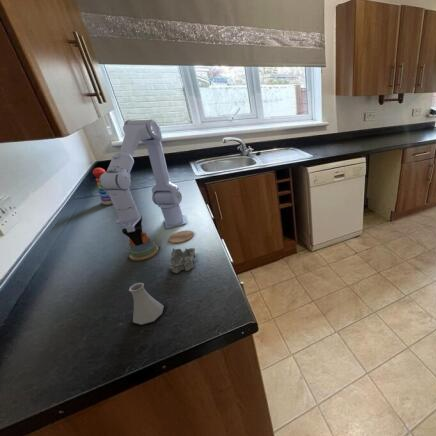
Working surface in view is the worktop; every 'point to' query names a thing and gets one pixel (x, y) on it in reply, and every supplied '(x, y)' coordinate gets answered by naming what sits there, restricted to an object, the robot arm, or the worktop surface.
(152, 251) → the ring stack
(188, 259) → the egg carton
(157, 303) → the flask
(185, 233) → the cork coaster
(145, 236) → the orange ring
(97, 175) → the stacking toy
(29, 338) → the worktop surface
